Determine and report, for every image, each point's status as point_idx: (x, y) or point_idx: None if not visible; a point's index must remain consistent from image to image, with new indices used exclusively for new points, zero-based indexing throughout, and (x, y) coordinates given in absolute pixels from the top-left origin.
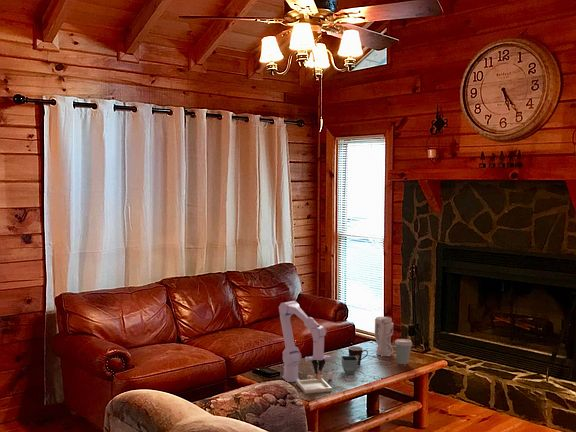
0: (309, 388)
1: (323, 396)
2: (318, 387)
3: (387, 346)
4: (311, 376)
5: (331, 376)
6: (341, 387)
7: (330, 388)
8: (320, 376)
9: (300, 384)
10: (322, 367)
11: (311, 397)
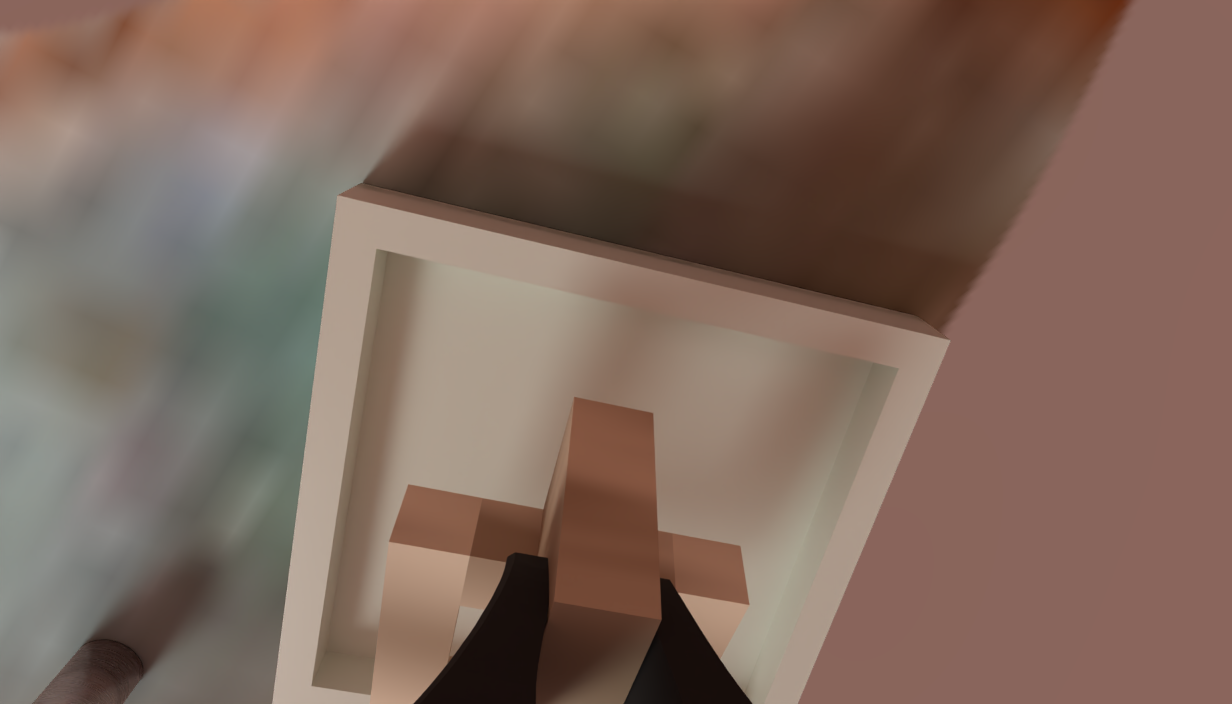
0: (717, 469)
1: (689, 22)
2: (533, 438)
3: None
4: (732, 617)
5: (47, 699)
6: (48, 278)
7: (378, 203)
8: (581, 451)
9: (827, 620)
10: (447, 684)
11: (940, 104)
